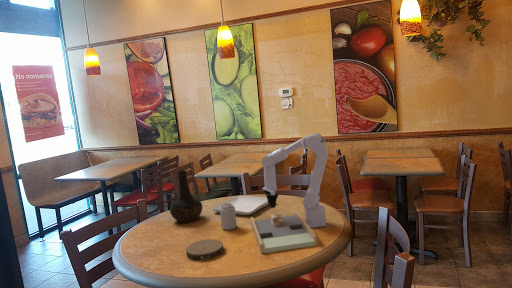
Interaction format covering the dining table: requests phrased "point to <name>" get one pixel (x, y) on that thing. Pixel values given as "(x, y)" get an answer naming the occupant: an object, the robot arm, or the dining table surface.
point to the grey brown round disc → (204, 249)
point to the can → (228, 216)
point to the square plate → (244, 204)
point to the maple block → (276, 219)
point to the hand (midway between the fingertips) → (271, 205)
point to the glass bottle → (185, 202)
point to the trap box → (283, 234)
